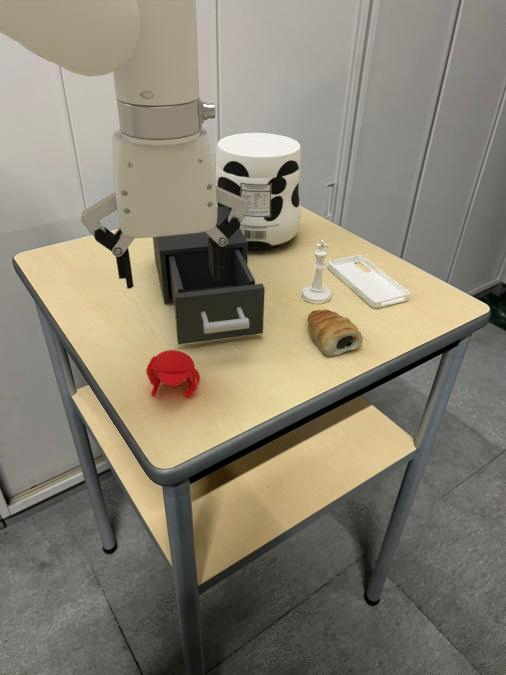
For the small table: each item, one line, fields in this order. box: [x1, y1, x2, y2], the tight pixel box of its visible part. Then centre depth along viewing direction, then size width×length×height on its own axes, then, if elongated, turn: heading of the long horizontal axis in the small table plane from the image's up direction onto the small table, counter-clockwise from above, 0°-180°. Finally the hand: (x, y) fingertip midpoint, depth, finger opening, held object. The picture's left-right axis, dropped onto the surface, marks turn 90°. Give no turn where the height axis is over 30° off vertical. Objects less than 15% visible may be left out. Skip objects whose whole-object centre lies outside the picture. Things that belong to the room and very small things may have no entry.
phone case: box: [327, 254, 411, 309], centre depth 89 cm, size 7×1×15 cm
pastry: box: [307, 309, 364, 357], centre depth 76 cm, size 9×7×4 cm
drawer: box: [168, 248, 266, 345], centre depth 76 cm, size 18×12×8 cm
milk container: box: [215, 132, 302, 249], centre depth 98 cm, size 17×17×18 cm
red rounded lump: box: [145, 349, 201, 399], centre depth 65 cm, size 8×6×6 cm
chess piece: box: [300, 239, 332, 305], centre depth 83 cm, size 5×5×10 cm
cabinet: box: [152, 206, 249, 305], centre depth 87 cm, size 15×14×10 cm
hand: (172, 277), depth 59 cm, fingers open, 9 cm apart
